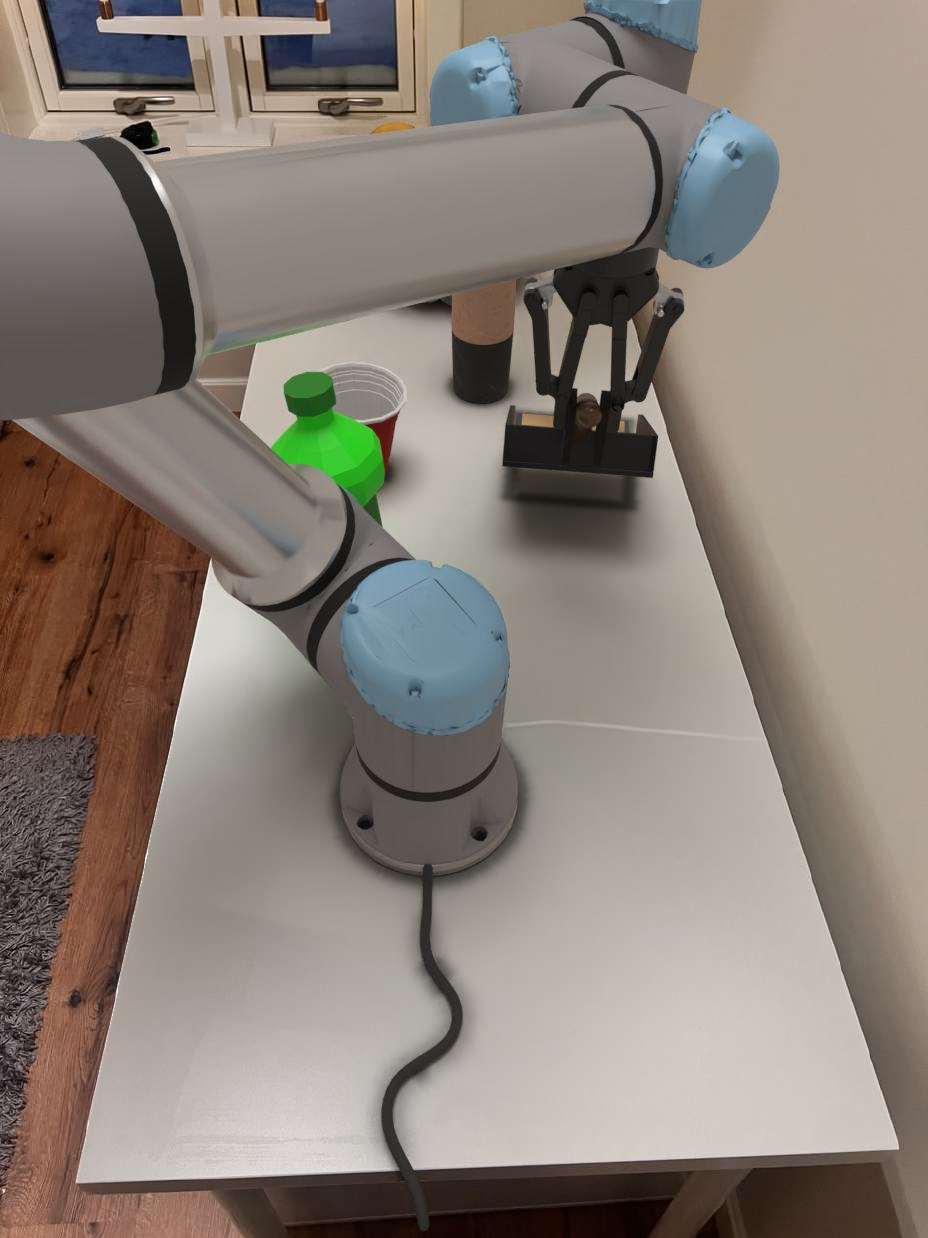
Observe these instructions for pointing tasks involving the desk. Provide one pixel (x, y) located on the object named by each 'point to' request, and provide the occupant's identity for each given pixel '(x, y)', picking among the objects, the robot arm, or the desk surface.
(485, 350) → the travel mug
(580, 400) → the pan
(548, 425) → the block
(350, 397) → the plastic cup
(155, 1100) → the desk surface
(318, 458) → the plastic bottle
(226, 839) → the desk surface
